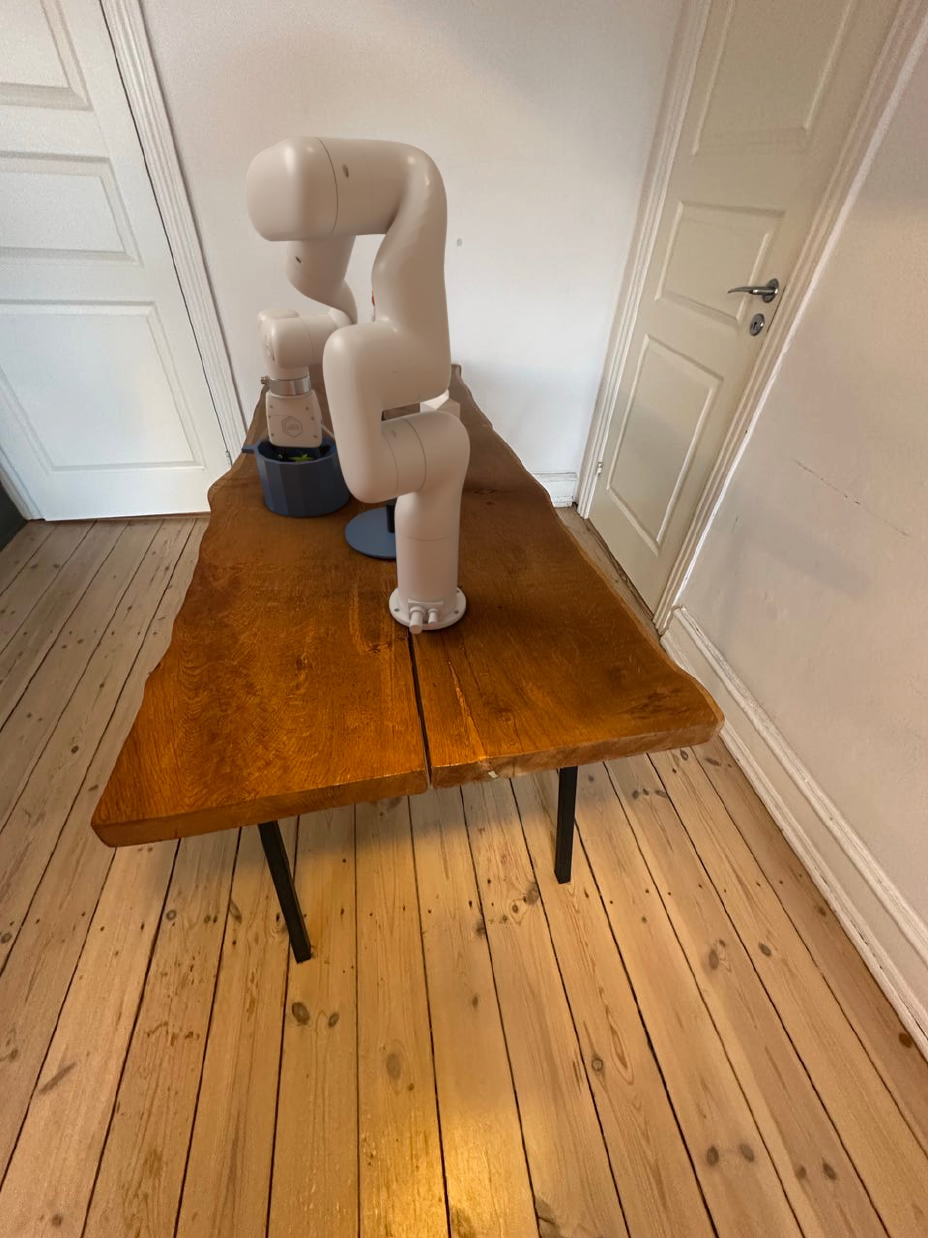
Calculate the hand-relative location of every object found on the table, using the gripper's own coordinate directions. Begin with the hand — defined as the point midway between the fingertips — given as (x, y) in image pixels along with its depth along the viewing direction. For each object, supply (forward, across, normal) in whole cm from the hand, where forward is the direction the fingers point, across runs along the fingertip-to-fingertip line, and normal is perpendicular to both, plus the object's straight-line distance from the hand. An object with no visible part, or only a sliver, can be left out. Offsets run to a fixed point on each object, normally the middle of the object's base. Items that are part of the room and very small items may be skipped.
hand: (304, 473), depth 114 cm
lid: (+5, +20, -14) cm, 25 cm away
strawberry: (+5, 0, 0) cm, 5 cm away
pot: (+5, 0, 0) cm, 5 cm away
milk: (+6, +28, +7) cm, 29 cm away
